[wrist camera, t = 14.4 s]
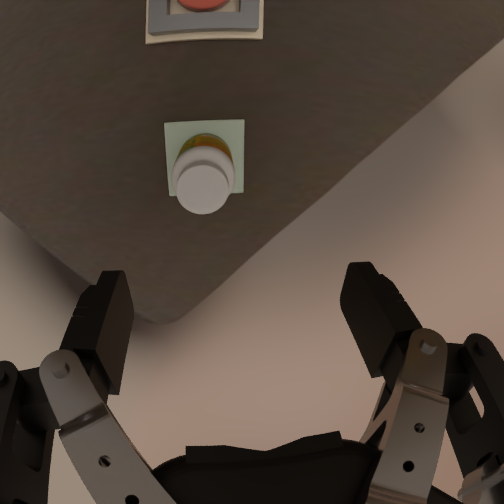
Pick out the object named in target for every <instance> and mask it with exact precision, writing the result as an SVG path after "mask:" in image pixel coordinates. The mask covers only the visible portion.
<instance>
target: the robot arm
mask: <svg viewBox="0 0 504 504" xmlns="http://www.w3.org/2000/svg"><path fill="white" fill-rule="evenodd" d="M340 305H341V310H342V312H343V314H344V317H345V319H346V321H347V323H348V325H349V328H350V330H351V332H352V334H353V336H354V339H355V341H356V343H357V345H358V348H359V350H360V352H361V355H362V357H363V359H364V361H365V364H366V366H367V368H368V371H369V373H370V375H371V378H375V377H380V376H383V377H384V379H385V382H384V383H383V386H382V388H381V391H380V394H379V397H378V400H377V403H376V406H375V409H374V411H373V414H372V417H371V419H370V422H369V424H368V427H367V429H366V431H365V432H364V434H363V436H362V437H361V439H360V441H359V442H357V441H353V440H346V439H342V438H341V434H340V431H335V432H330V433H325V434H319V435H313V436H307V437H303V438H300V439H298V440H295V441H293V442H290V443H288V444H285V445H282V446H280V447H277V448H274V449H271V450H268V451H259V450H252V449H245V448H238V447H232V446H226V445H218V446H186V455H183V456H179V457H176V458H174V459H170V460H169V461H166V462H164V463H162V464H161V465H159V466H158V467H156V468H155V469H154V470H153V469H152V468H151V467H150V466H149V464H148V463H147V462H146V461H145V459H144V458H143V457H142V455H141V454H140V453H139V451H138V450H137V449H136V447H135V446H134V445H133V443H132V442H131V441H130V439H129V438H128V436H127V435H126V433H125V432H124V430H123V429H122V427H121V426H120V424H119V423H118V421H117V420H116V418H115V417H114V415H113V414H112V412H111V410H110V409H109V407H108V406H107V399H108V394H112V395H119V392H120V386H121V380H122V374H123V369H124V363H125V357H126V353H127V347H128V343H129V338H130V333H131V329H132V324H133V319H134V308H133V302H132V298H131V295H130V291H129V287H128V283H127V279H126V275H125V272H124V271H123V270H115V271H102V273H101V275H100V277H99V280H98V282H97V284H96V285H90V286H89V287H88V288H87V289H86V290H85V291H84V292H83V293H82V294H81V296H80V298H79V301H78V303H77V305H76V308H75V310H74V312H73V317H71V319H70V322H69V325H68V327H67V330H66V332H65V335H64V338H63V340H62V343H61V346H60V348H59V350H56V351H54V352H52V353H50V354H49V355H47V356H46V357H45V358H44V360H43V361H42V363H41V365H40V367H37V368H32V369H27V370H22V371H18V370H17V368H16V367H15V365H14V364H13V363H11V362H9V361H0V504H47V502H48V485H49V473H50V463H51V454H52V446H53V439H54V432H55V429H61V430H60V431H59V432H58V433H59V437H60V439H61V441H62V444H63V445H64V448H65V449H66V452H67V454H68V456H69V457H70V459H71V461H72V463H73V465H74V467H75V469H76V470H77V472H78V474H79V476H80V477H81V479H82V481H83V483H84V484H85V486H86V487H87V489H88V491H89V492H90V494H91V496H92V497H93V499H94V500H95V502H96V504H504V361H503V359H502V358H501V356H500V354H499V352H498V351H497V350H496V348H495V346H494V344H493V343H492V342H491V341H490V340H489V339H488V338H487V337H485V336H483V335H481V334H478V333H474V334H470V335H469V336H468V337H467V339H466V340H465V342H464V343H463V344H456V343H446V341H445V340H444V338H443V337H442V336H441V335H440V334H439V333H437V332H435V331H434V330H431V329H427V328H423V327H422V325H421V324H420V322H419V321H418V319H417V318H416V316H415V315H414V313H413V311H412V310H411V308H410V307H409V306H408V304H407V302H406V301H404V298H403V297H402V295H401V294H399V291H398V289H397V288H396V286H395V285H394V283H393V282H392V281H391V280H389V279H388V278H387V277H385V276H384V275H383V274H379V273H378V272H377V270H376V269H375V268H374V266H373V264H372V263H371V262H352V263H350V264H349V265H348V268H347V272H346V276H345V280H344V283H343V287H342V291H341V295H340ZM473 386H474V387H475V389H476V391H477V393H478V395H479V397H480V399H481V401H482V403H483V405H484V415H483V417H482V418H481V417H480V414H479V412H478V410H477V407H476V405H475V403H474V401H473V399H472V397H471V395H470V393H469V391H470V390H471V389H472V387H473ZM445 428H446V430H447V433H448V436H449V438H450V441H451V444H452V446H453V449H454V452H455V455H456V457H457V460H458V463H459V466H460V469H461V472H462V474H463V478H464V480H463V483H462V488H461V489H460V490H459V491H458V499H459V500H460V501H462V502H460V501H458V500H456V499H455V498H453V497H451V496H450V495H448V494H446V493H444V492H443V491H441V490H439V489H438V488H436V487H434V486H433V485H432V481H433V477H434V474H435V470H436V467H437V462H438V459H439V454H440V449H441V446H442V441H443V436H444V431H445Z"/></svg>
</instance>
